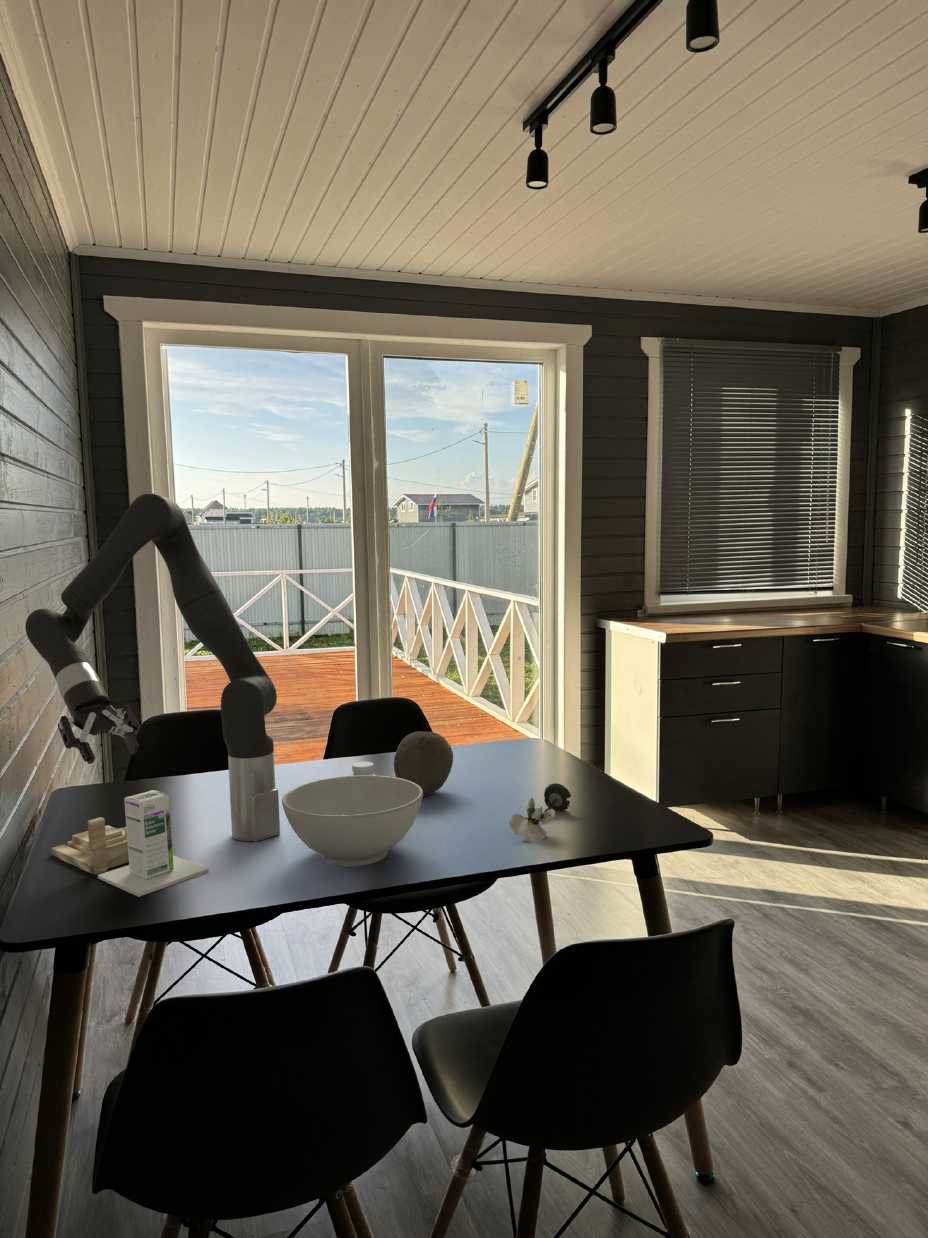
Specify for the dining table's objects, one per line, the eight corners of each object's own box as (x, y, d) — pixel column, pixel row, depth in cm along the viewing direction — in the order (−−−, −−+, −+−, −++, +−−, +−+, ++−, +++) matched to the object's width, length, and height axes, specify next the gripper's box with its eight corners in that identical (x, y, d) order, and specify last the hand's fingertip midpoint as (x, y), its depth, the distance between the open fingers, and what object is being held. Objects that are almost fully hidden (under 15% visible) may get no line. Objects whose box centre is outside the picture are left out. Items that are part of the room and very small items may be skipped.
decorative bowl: (257, 857, 165) (254, 795, 164) (367, 823, 183) (365, 768, 182) (340, 895, 146) (337, 826, 144) (453, 853, 164) (451, 791, 163)
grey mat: (208, 871, 158) (208, 868, 157) (138, 897, 147) (138, 893, 147) (166, 855, 166) (166, 852, 166) (97, 878, 156) (97, 875, 155)
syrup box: (145, 880, 152) (141, 801, 151) (128, 873, 156) (123, 796, 155) (174, 870, 157) (170, 793, 155) (156, 863, 160) (152, 788, 159)
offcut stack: (127, 845, 173) (126, 830, 172) (84, 858, 166) (83, 843, 166) (109, 838, 177) (108, 824, 177) (66, 851, 170) (65, 836, 170)
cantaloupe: (448, 803, 196) (446, 739, 194) (388, 802, 198) (386, 738, 197) (458, 786, 210) (456, 726, 208) (402, 785, 212) (400, 725, 211)
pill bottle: (343, 818, 187) (341, 766, 186) (360, 809, 193) (358, 759, 192) (368, 822, 184) (366, 769, 183) (384, 813, 190) (383, 762, 189)
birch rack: (167, 851, 169) (165, 802, 168) (94, 875, 157) (91, 822, 156) (123, 834, 179) (120, 788, 179) (51, 855, 168) (48, 806, 167)
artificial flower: (578, 818, 188) (588, 779, 184) (534, 864, 169) (543, 821, 166) (543, 803, 192) (551, 764, 188) (495, 845, 173) (503, 803, 170)
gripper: (50, 684, 162) (82, 753, 156) (122, 673, 173) (154, 737, 166) (40, 708, 166) (71, 776, 160) (111, 696, 177) (142, 759, 170)
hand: (114, 756), depth 163 cm, fingers open, 8 cm apart
